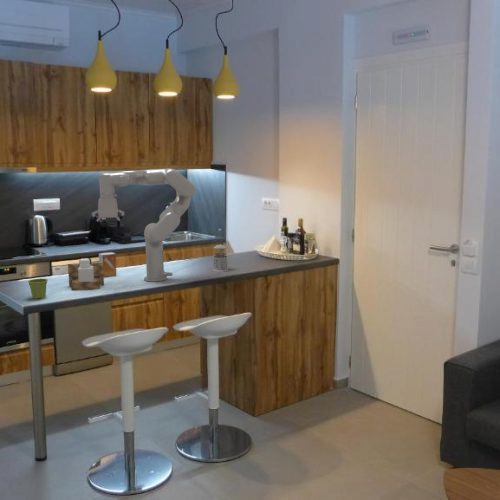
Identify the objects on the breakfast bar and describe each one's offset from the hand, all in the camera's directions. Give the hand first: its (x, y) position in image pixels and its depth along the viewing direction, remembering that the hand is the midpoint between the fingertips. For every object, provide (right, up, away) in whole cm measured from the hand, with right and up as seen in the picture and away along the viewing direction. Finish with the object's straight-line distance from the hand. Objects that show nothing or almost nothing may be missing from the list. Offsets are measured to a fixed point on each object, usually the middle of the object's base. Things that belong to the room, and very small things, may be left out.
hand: (108, 228), depth 332 cm
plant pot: (-29, -36, -25) cm, 52 cm away
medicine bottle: (-10, -28, -6) cm, 31 cm away
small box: (-6, -27, +26) cm, 38 cm away
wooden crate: (-11, -31, -4) cm, 34 cm away
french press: (+58, -24, +39) cm, 74 cm away
